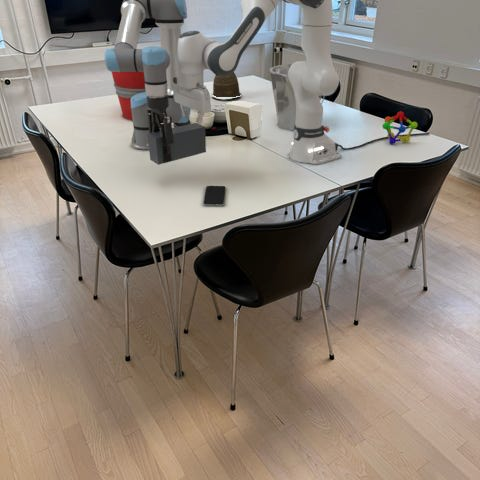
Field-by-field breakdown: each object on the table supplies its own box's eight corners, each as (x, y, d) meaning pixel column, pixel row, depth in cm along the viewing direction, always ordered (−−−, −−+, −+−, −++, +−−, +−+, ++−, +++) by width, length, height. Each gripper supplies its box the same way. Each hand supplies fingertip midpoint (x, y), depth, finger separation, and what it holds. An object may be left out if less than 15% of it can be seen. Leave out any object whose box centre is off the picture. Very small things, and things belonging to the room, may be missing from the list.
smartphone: (203, 204, 154) (206, 185, 167) (203, 205, 155) (206, 187, 167) (223, 204, 154) (225, 185, 167) (223, 206, 155) (225, 187, 167)
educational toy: (377, 146, 209) (379, 114, 202) (384, 138, 219) (386, 107, 211) (411, 149, 202) (415, 116, 195) (417, 141, 212) (420, 109, 204)
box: (158, 164, 161) (155, 138, 156) (150, 159, 165) (147, 133, 160) (206, 152, 172) (205, 126, 167) (197, 147, 177) (196, 122, 171)
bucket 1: (122, 105, 263) (114, 51, 248) (180, 106, 263) (177, 52, 247) (105, 123, 234) (95, 63, 218) (171, 124, 233) (166, 64, 217)
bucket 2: (296, 138, 215) (301, 78, 201) (255, 124, 234) (256, 68, 219) (335, 125, 232) (342, 70, 217) (294, 113, 251) (297, 61, 236)
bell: (227, 105, 294) (202, 96, 282) (238, 66, 289) (213, 55, 277) (243, 108, 280) (217, 98, 268) (255, 66, 275) (229, 55, 263)
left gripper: (181, 99, 148) (185, 164, 161) (153, 88, 161) (159, 149, 173) (161, 103, 145) (167, 169, 157) (134, 91, 157) (141, 153, 170)
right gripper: (215, 85, 153) (215, 124, 161) (183, 75, 167) (185, 112, 174) (200, 87, 150) (201, 127, 157) (169, 77, 164) (171, 114, 171)
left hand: (163, 158), depth 165 cm, fingers closed on box, 6 cm apart
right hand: (192, 119), depth 166 cm, fingers open, 8 cm apart
